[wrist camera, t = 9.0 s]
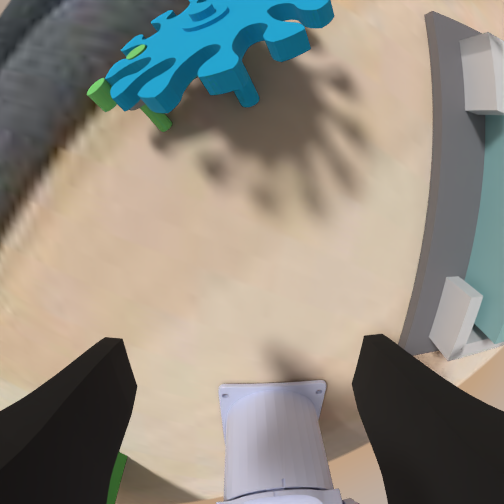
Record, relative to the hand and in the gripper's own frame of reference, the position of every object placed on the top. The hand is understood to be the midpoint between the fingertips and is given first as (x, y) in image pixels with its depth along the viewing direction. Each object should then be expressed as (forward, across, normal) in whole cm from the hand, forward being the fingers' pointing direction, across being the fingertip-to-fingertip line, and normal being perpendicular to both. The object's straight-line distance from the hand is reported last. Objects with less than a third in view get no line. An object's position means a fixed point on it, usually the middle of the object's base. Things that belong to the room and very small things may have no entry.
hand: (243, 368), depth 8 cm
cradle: (+9, -17, -4) cm, 20 cm away
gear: (+10, +2, -11) cm, 15 cm away
